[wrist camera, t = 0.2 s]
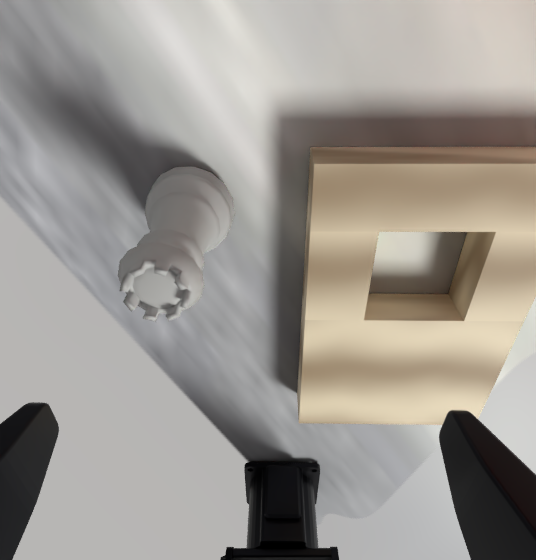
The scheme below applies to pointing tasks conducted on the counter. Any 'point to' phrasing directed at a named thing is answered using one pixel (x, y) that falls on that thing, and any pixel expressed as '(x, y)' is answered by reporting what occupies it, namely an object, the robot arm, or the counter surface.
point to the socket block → (412, 307)
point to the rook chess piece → (176, 242)
